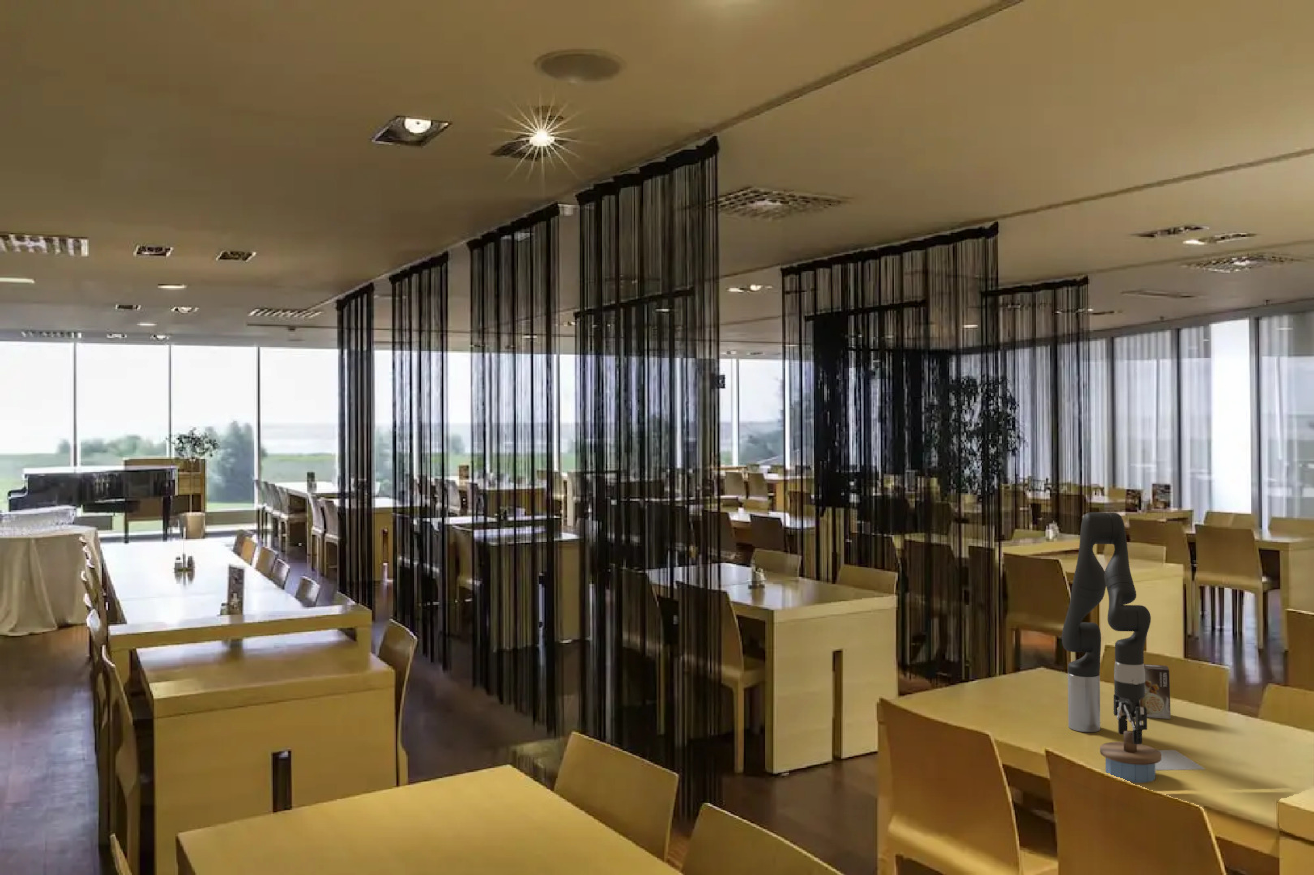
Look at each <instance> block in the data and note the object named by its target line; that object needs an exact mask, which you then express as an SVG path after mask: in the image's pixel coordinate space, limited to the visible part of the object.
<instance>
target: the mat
mask: <svg viewBox="0 0 1314 875" xmlns="http://www.w3.org/2000/svg"><path fill="white" fill-rule="evenodd" d="M1157 750H1158V751H1160V752H1161V761H1160V762H1158V763H1155V766H1156V771H1177V770H1178V771H1186V770H1188V771H1191V770H1192V771H1193V770H1194V771H1195V770H1198V771H1199V770H1205V768H1204V767H1203V766H1201V765H1200V764H1198V763H1197V762H1195V761H1193V760H1192V759H1191V758H1189V757H1187V756H1186V755H1184V754H1182V753H1180V752H1179V751H1177V750H1176V749H1157Z"/></svg>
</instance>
